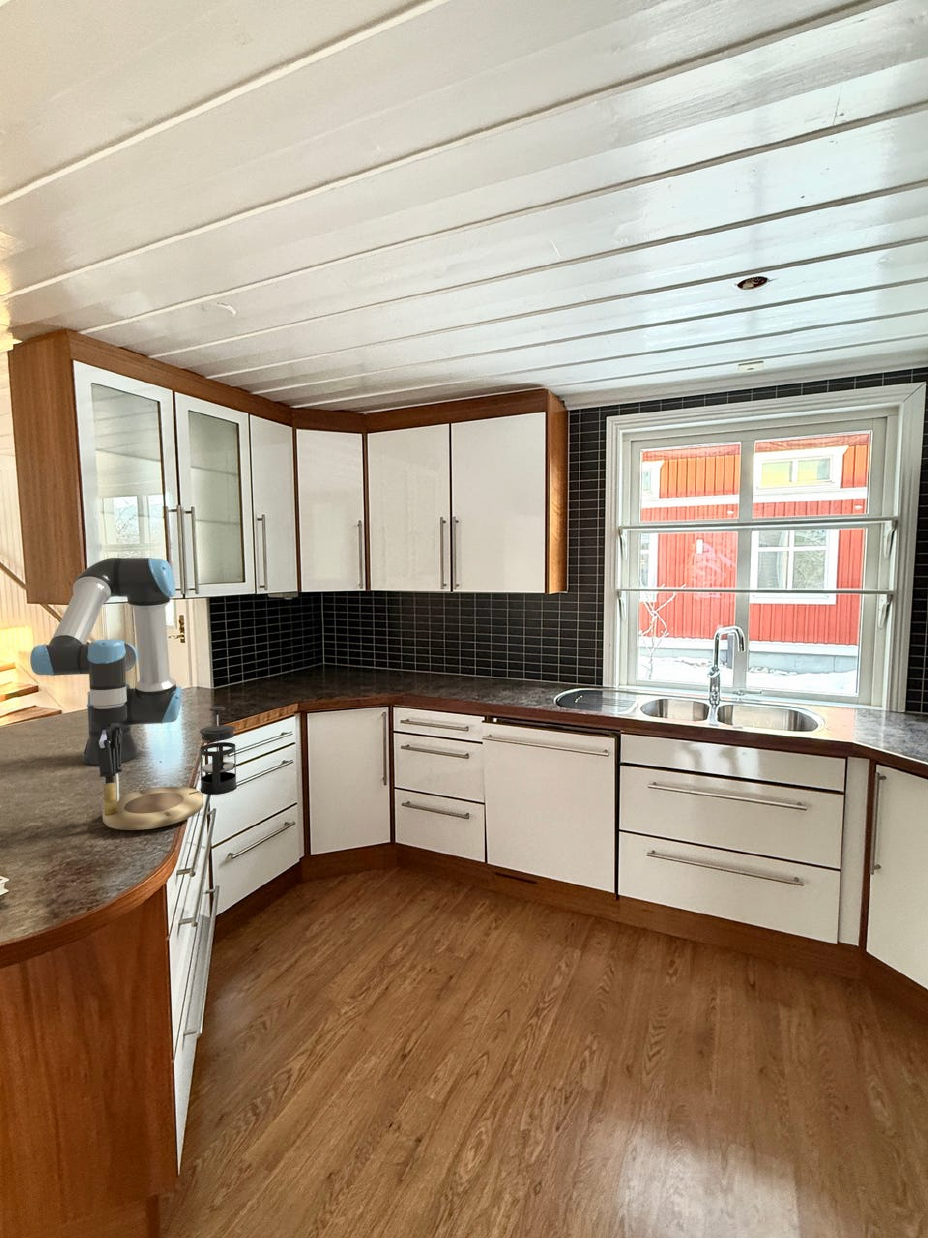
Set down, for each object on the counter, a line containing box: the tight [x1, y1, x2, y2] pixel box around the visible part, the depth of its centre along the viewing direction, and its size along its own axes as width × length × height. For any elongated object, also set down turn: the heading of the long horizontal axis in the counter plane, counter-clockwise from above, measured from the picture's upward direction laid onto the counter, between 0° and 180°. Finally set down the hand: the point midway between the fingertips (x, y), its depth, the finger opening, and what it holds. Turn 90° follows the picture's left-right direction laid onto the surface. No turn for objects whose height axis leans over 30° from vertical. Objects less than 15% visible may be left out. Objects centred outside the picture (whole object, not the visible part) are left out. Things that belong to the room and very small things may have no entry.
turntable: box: [102, 783, 204, 831], centre depth 147 cm, size 22×22×9 cm
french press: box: [199, 706, 238, 796], centre depth 165 cm, size 12×9×23 cm
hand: (112, 800), depth 145 cm, fingers closed
